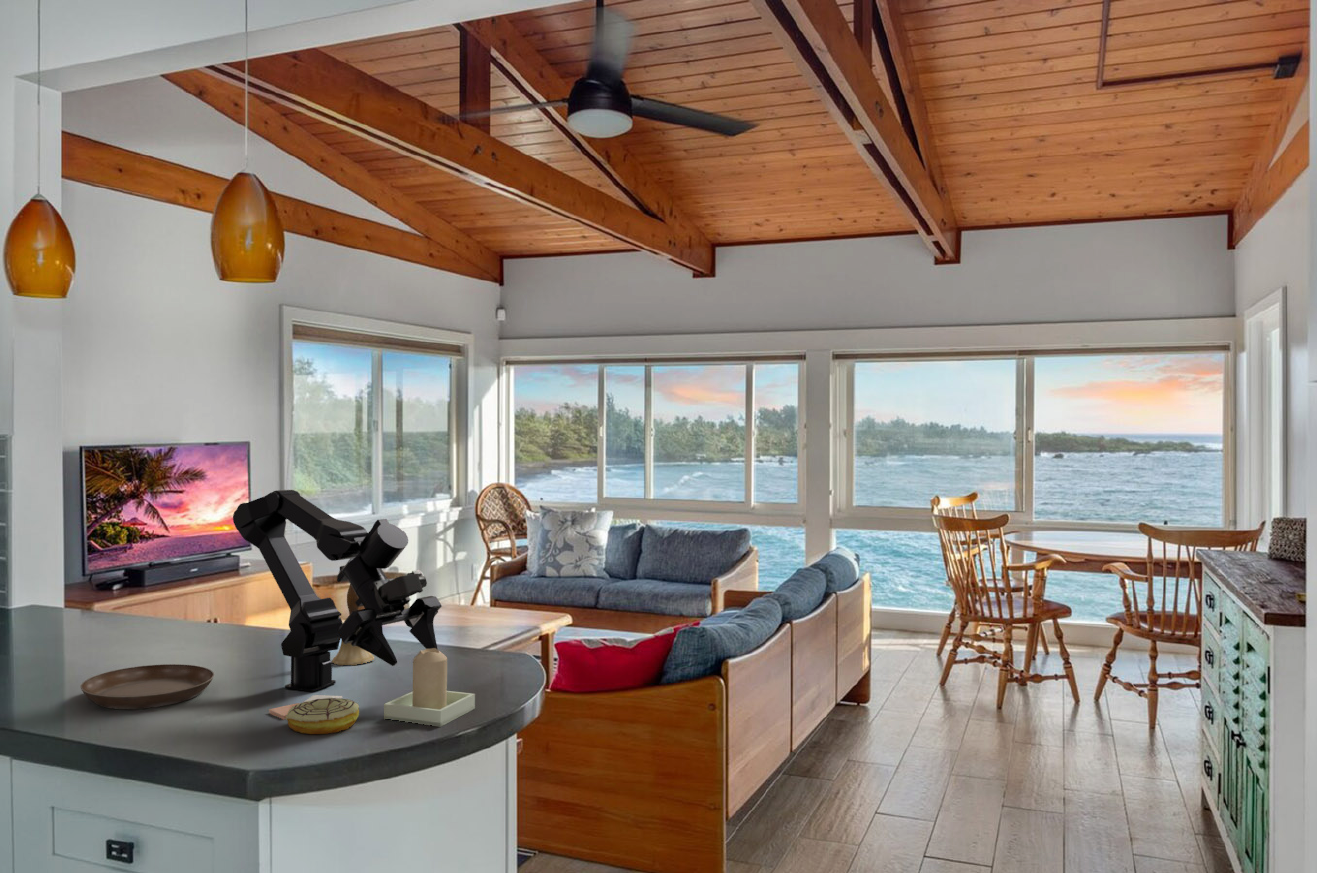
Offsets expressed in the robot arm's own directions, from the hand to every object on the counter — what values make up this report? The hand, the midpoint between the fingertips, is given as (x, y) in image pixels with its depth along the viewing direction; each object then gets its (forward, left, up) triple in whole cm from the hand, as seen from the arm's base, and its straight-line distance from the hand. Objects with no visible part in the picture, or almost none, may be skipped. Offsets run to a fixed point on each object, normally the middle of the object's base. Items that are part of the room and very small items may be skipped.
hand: (416, 658), depth 159 cm
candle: (+3, -1, -8) cm, 9 cm away
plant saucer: (-48, -9, -9) cm, 50 cm away
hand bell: (-31, +25, -9) cm, 41 cm away
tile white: (-17, -2, -9) cm, 20 cm away
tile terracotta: (-18, -9, -9) cm, 22 cm away
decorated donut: (-9, -12, -9) cm, 18 cm away
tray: (+3, -1, -9) cm, 9 cm away
